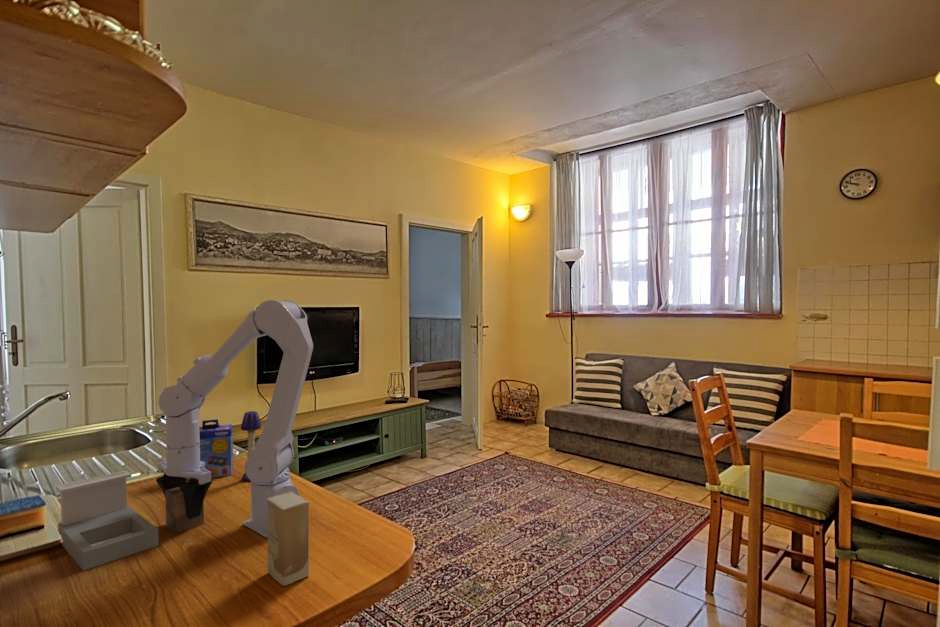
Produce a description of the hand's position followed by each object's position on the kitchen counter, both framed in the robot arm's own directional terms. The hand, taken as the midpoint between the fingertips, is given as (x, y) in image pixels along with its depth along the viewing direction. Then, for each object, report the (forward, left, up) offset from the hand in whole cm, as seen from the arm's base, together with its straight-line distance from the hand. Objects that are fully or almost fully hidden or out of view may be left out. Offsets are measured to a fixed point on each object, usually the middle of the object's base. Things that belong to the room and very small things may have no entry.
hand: (184, 513), depth 99 cm
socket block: (+3, +12, -2) cm, 13 cm away
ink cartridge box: (+26, -16, -2) cm, 31 cm away
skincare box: (-33, -3, -2) cm, 33 cm away
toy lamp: (+15, -21, -2) cm, 26 cm away
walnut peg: (0, 0, -2) cm, 2 cm away
